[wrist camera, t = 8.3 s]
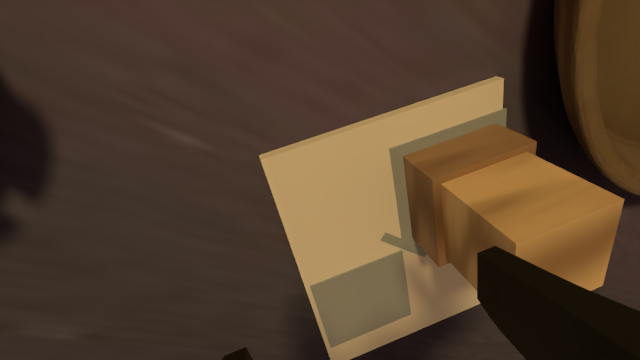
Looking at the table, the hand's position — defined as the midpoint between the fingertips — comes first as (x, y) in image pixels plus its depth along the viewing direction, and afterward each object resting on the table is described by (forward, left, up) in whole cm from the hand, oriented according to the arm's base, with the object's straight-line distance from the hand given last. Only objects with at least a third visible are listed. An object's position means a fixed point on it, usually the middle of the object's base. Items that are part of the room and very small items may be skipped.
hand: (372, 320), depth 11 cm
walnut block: (-4, -9, -10) cm, 14 cm away
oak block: (-4, -9, -7) cm, 12 cm away
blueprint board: (-8, -6, -10) cm, 14 cm away
